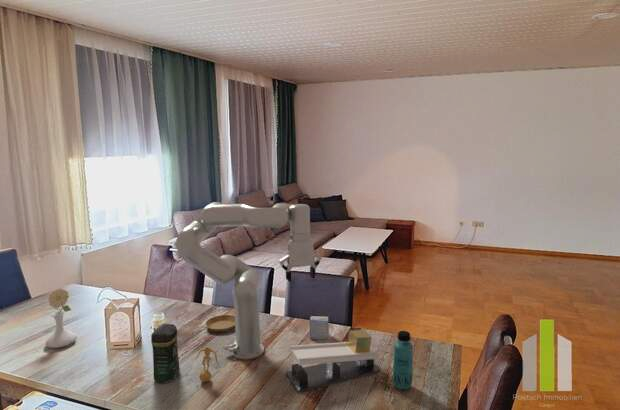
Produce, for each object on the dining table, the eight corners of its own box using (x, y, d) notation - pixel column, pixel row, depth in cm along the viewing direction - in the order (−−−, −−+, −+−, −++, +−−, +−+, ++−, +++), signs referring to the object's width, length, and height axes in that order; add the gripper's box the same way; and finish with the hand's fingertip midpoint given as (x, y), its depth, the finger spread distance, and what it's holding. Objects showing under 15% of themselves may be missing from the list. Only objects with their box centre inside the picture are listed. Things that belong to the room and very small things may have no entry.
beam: (298, 365, 134) (299, 358, 134) (289, 351, 143) (290, 345, 143) (375, 358, 146) (376, 352, 145) (362, 346, 154) (363, 340, 154)
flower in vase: (39, 347, 167) (32, 290, 163) (65, 335, 177) (58, 281, 173) (61, 353, 162) (54, 294, 158) (86, 340, 172) (80, 285, 168)
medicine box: (328, 335, 174) (328, 316, 173) (328, 340, 170) (328, 320, 169) (310, 334, 175) (310, 315, 174) (309, 339, 171) (309, 320, 169)
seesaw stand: (297, 393, 134) (297, 375, 133) (286, 374, 145) (285, 357, 144) (380, 372, 146) (380, 355, 145) (363, 356, 157) (364, 340, 156)
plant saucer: (202, 323, 187) (202, 318, 187) (233, 317, 194) (233, 312, 193) (209, 337, 174) (209, 331, 174) (242, 330, 180) (242, 324, 180)
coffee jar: (173, 383, 140) (169, 334, 138) (150, 383, 141) (146, 334, 138) (183, 368, 150) (179, 321, 147) (162, 368, 150) (158, 321, 147)
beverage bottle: (390, 382, 139) (391, 328, 136) (408, 381, 140) (410, 327, 137) (395, 394, 133) (396, 337, 130) (415, 393, 133) (416, 336, 130)
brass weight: (355, 353, 144) (357, 337, 144) (347, 346, 150) (349, 330, 149) (369, 352, 147) (371, 337, 146) (361, 345, 152) (363, 329, 152)
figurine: (192, 382, 141) (190, 351, 139) (200, 373, 147) (198, 342, 145) (213, 386, 139) (211, 353, 137) (221, 376, 145) (219, 345, 143)
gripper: (281, 240, 147) (282, 285, 150) (324, 236, 153) (325, 279, 156) (275, 236, 154) (276, 279, 157) (317, 232, 160) (317, 273, 163)
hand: (300, 279), depth 156 cm, fingers open, 9 cm apart
